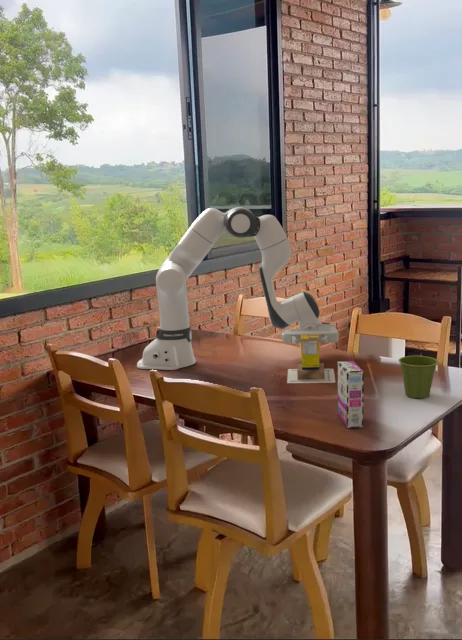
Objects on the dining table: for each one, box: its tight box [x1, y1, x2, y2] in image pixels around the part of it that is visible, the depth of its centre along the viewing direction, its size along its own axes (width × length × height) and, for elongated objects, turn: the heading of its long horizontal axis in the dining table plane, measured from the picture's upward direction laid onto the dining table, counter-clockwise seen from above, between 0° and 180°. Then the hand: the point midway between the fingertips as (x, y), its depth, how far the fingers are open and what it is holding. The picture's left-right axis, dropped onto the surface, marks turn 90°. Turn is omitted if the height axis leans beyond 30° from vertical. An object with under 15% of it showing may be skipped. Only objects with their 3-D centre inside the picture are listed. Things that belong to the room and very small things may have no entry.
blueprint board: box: [286, 368, 336, 384], centre depth 228 cm, size 16×16×1 cm
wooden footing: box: [296, 362, 325, 380], centre depth 228 cm, size 9×9×3 cm
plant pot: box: [398, 355, 439, 399], centre depth 206 cm, size 12×12×11 cm
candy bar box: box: [337, 360, 365, 429], centre depth 187 cm, size 11×5×16 cm, turn 5°
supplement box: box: [300, 334, 320, 369], centre depth 227 cm, size 6×6×11 cm
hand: (310, 341), depth 232 cm, fingers open, 8 cm apart
